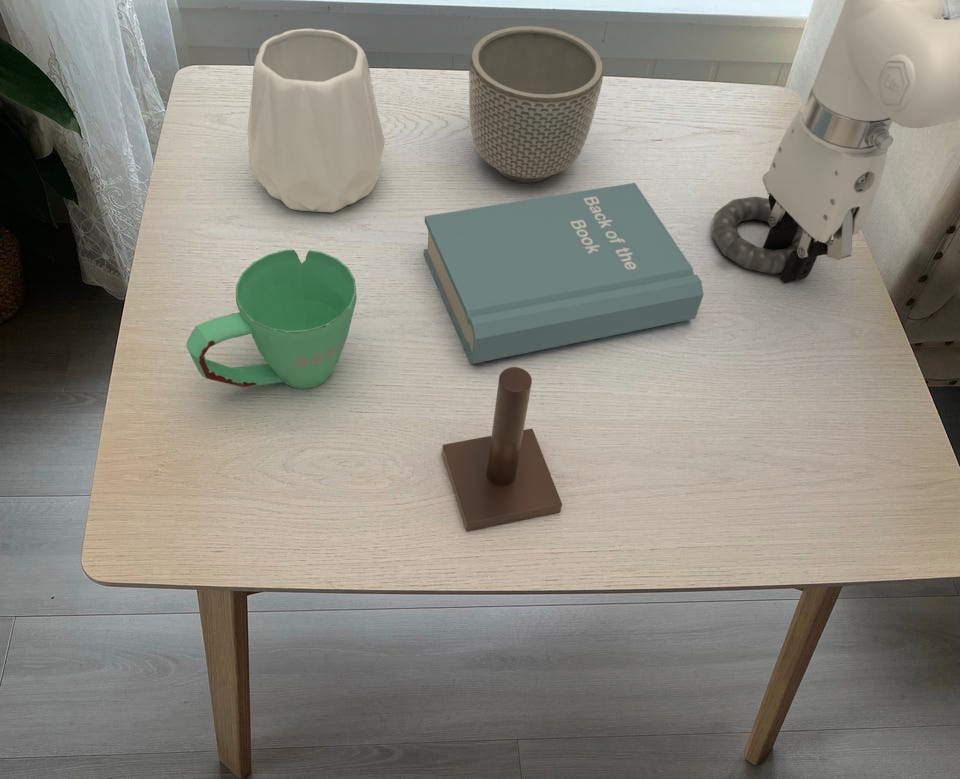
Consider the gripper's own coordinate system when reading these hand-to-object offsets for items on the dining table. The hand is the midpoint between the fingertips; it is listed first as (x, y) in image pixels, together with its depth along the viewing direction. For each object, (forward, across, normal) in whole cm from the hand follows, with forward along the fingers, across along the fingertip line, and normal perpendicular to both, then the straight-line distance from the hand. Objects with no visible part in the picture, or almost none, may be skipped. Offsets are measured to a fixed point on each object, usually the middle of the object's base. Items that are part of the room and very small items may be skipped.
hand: (783, 266), depth 99 cm
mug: (0, +3, +53) cm, 53 cm away
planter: (0, +24, +18) cm, 31 cm away
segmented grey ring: (-1, +4, 0) cm, 4 cm away
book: (0, +5, +24) cm, 25 cm away
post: (0, -14, +39) cm, 41 cm away
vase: (0, +29, +41) cm, 50 cm away
